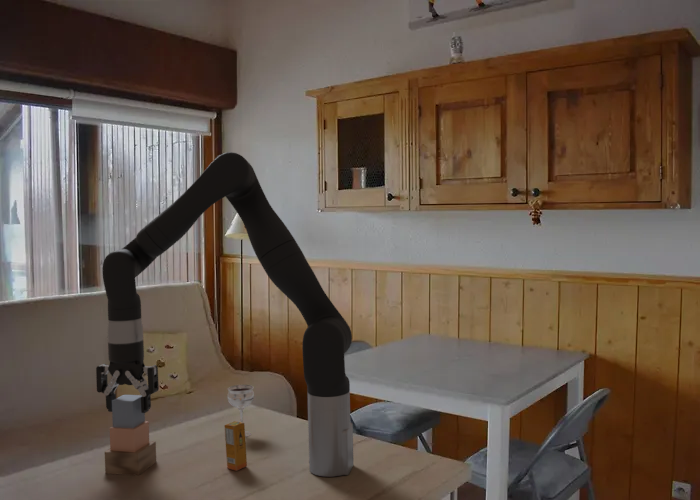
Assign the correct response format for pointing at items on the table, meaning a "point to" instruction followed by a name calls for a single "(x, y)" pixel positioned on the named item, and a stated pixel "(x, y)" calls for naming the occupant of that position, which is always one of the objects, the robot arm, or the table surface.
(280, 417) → the table surface
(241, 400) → the wineglass
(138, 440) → the top block
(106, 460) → the base block
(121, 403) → the slate block
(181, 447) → the table surface
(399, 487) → the table surface
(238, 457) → the supplement box
